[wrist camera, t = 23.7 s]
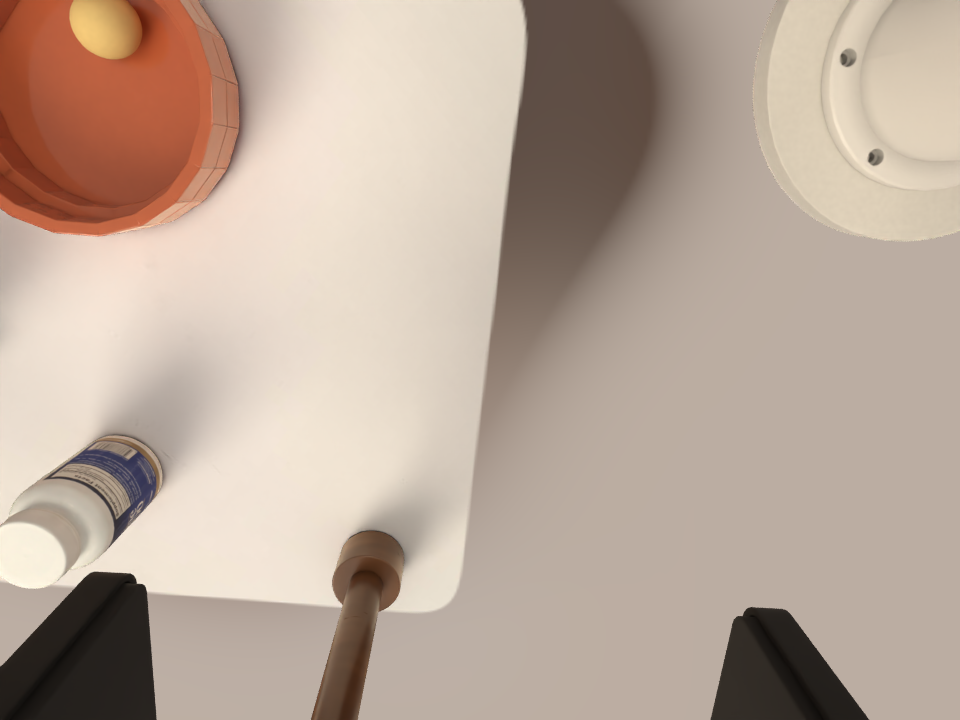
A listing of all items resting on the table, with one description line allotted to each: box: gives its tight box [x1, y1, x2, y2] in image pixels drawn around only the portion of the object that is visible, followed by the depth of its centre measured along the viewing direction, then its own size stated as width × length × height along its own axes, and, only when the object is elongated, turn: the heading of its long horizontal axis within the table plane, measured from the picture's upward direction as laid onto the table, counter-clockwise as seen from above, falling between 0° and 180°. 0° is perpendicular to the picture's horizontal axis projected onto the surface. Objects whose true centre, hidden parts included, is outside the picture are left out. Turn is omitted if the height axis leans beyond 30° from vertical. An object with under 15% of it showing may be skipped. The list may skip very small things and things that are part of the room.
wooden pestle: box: [311, 531, 404, 720], centre depth 36 cm, size 4×4×16 cm
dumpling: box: [69, 0, 142, 59], centre depth 32 cm, size 3×3×3 cm
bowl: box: [0, 0, 239, 237], centre depth 33 cm, size 14×14×4 cm
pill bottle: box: [0, 435, 163, 589], centre depth 37 cm, size 5×5×10 cm
